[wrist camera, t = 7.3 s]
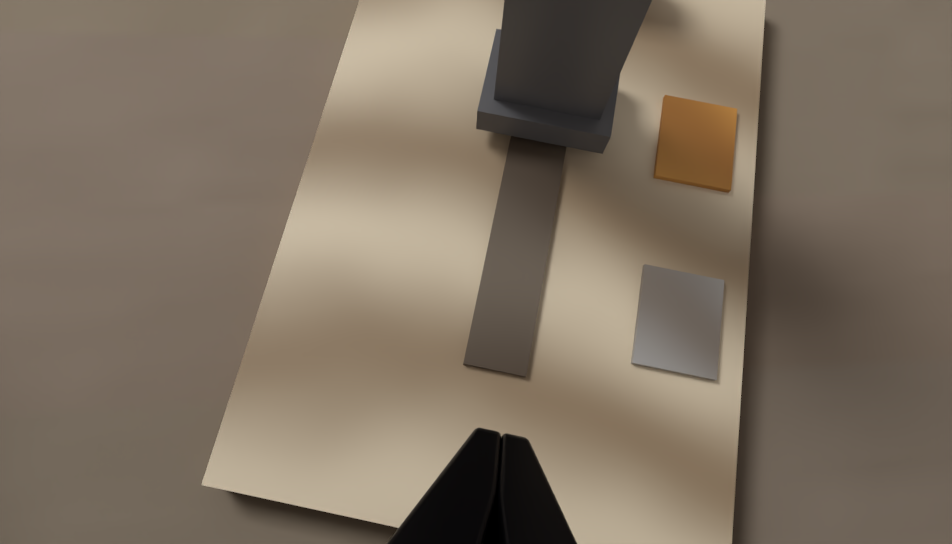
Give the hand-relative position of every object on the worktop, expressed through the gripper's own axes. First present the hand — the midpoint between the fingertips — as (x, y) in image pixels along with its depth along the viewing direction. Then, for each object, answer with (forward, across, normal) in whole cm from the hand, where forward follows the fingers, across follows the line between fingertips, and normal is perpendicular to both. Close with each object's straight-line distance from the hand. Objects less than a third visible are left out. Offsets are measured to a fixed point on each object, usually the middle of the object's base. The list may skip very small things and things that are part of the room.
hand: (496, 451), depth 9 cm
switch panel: (+11, 0, 0) cm, 11 cm away
